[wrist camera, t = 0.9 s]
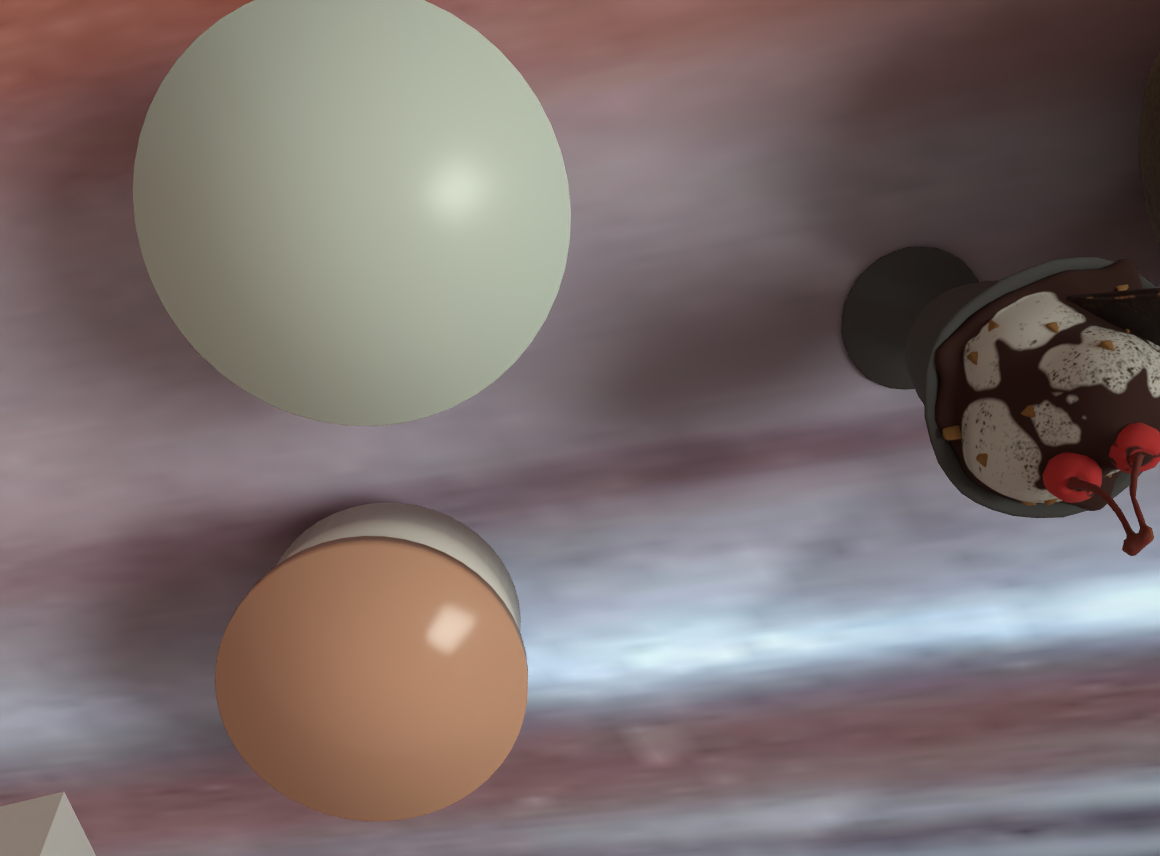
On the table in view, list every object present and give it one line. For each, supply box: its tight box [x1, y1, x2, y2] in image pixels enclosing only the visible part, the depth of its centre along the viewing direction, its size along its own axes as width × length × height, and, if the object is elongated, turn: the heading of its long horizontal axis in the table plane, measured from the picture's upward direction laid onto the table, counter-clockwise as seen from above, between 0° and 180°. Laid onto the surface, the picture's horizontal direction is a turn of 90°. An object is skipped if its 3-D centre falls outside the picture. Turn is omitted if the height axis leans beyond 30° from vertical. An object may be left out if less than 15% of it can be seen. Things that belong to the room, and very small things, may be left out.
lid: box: [133, 0, 571, 426], centre depth 26 cm, size 11×11×2 cm
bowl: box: [215, 503, 528, 821], centre depth 34 cm, size 10×10×6 cm
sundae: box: [842, 247, 1160, 556], centre depth 27 cm, size 7×7×15 cm
